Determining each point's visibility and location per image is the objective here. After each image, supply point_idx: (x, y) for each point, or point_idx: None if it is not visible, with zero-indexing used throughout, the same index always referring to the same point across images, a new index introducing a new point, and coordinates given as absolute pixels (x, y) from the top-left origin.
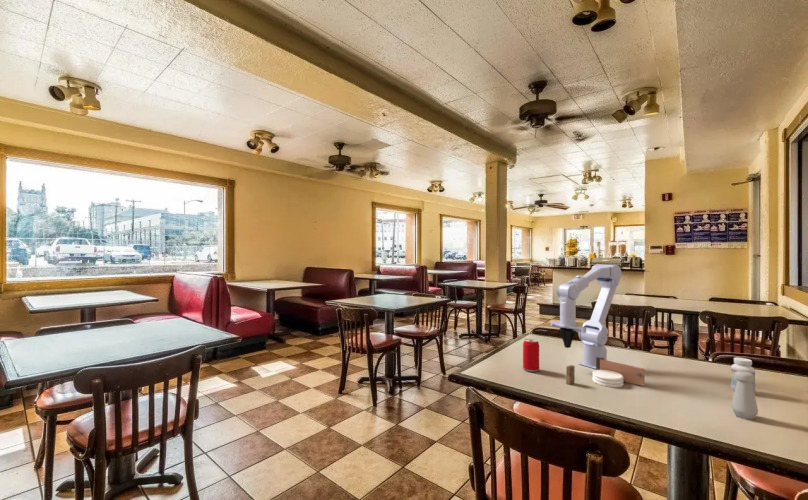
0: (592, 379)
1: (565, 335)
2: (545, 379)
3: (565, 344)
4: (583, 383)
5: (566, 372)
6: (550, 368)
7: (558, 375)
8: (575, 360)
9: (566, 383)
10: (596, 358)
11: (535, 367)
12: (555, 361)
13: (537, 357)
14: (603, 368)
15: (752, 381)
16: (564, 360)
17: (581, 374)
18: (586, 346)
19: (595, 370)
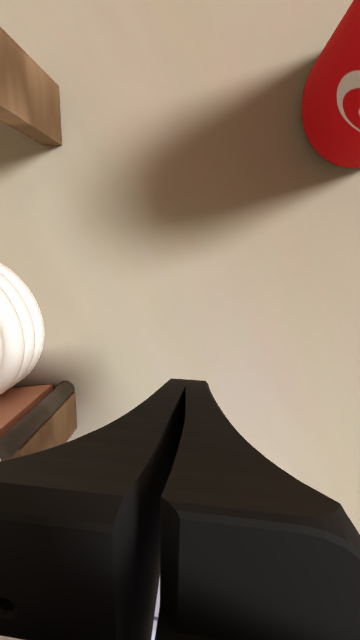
0: (25, 286)
1: (142, 453)
2: (178, 23)
3: (188, 389)
4: (20, 195)
5: (10, 37)
6: (285, 275)
7: (176, 191)
8: None
9: (57, 85)
10: (10, 439)
11: (316, 61)
12: (338, 428)
13: (347, 31)
14: (7, 407)
15: None
16: (311, 483)
17: (115, 330)
18: (158, 603)
19: (3, 334)
